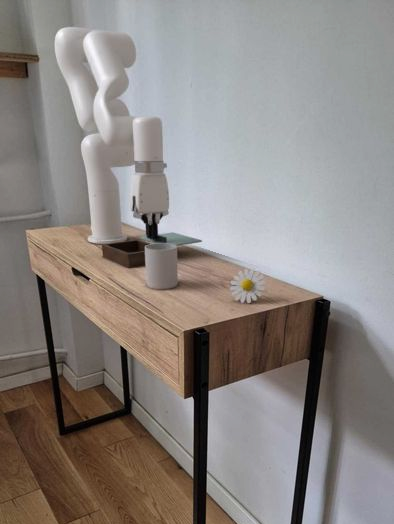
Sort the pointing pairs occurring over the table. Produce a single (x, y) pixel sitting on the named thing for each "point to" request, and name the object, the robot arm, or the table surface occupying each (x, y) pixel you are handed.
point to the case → (126, 252)
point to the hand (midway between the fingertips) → (152, 238)
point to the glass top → (172, 239)
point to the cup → (161, 265)
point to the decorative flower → (247, 285)
